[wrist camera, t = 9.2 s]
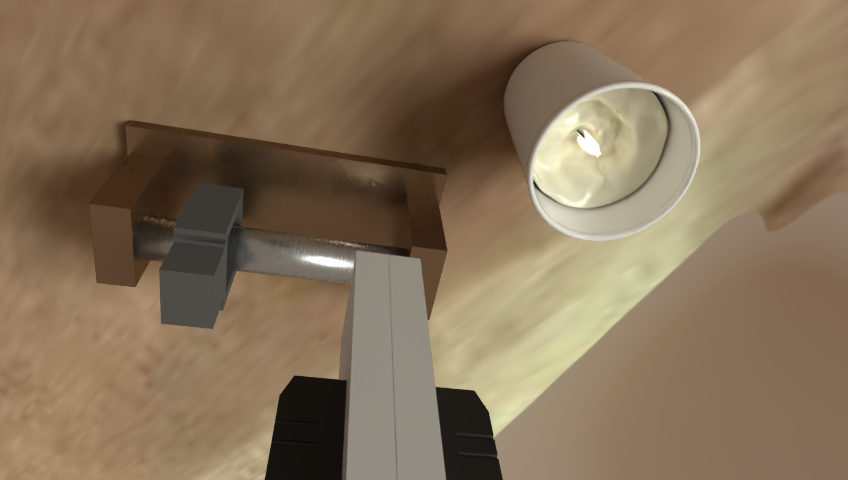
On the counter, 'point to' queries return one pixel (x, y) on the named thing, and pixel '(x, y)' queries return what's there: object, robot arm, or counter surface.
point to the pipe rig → (268, 207)
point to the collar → (200, 258)
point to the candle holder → (598, 142)
